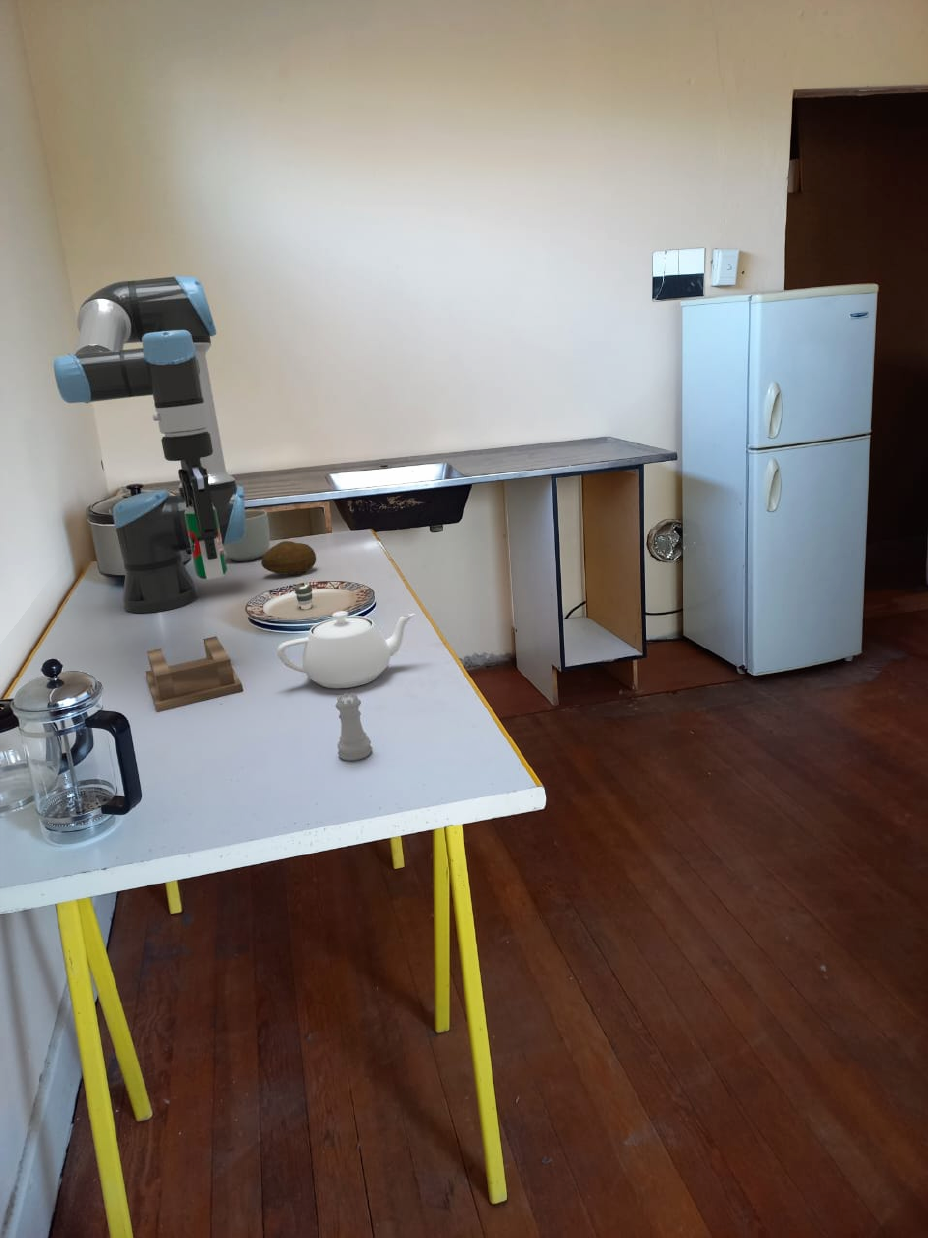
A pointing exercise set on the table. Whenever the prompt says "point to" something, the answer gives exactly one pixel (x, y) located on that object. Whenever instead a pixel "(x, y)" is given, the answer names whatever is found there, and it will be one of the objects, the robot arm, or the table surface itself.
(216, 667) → the cradle
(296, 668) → the teapot
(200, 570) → the soda can
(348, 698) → the rook chess piece
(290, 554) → the potato
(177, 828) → the table surface
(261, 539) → the planter
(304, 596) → the coffee cup
